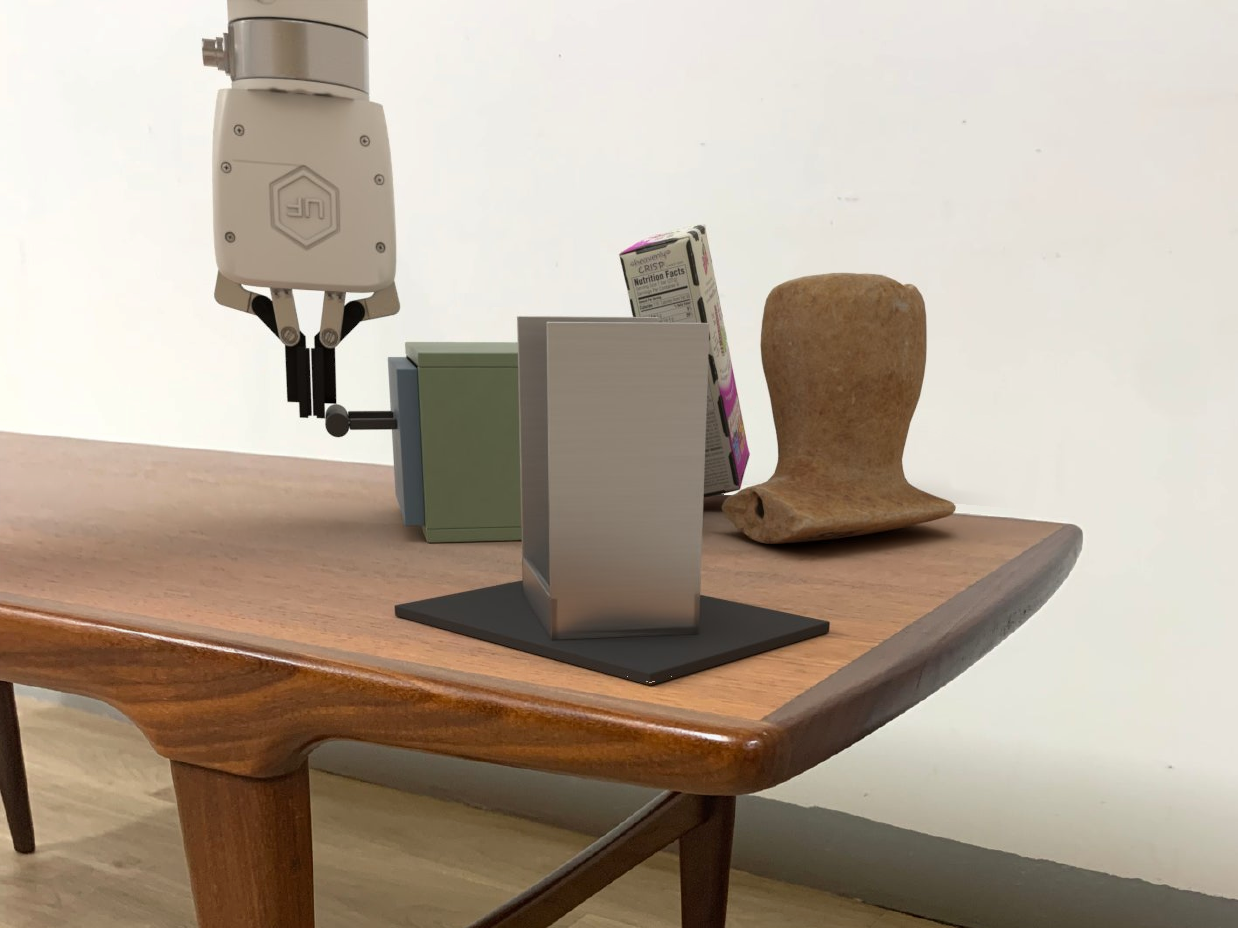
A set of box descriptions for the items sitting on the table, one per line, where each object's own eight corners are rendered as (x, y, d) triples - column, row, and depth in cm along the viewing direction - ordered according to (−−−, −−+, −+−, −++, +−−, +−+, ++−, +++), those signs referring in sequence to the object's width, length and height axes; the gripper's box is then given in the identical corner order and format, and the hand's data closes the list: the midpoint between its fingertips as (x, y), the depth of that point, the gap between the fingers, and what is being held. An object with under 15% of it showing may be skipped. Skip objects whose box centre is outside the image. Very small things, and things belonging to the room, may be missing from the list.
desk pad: (394, 615, 60) (393, 605, 60) (577, 578, 68) (577, 569, 68) (650, 686, 50) (650, 673, 50) (829, 632, 58) (830, 621, 58)
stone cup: (842, 510, 90) (860, 274, 84) (978, 535, 81) (1008, 275, 75) (671, 530, 82) (677, 271, 76) (802, 561, 73) (820, 270, 67)
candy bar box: (686, 471, 98) (639, 239, 91) (751, 457, 97) (708, 221, 90) (669, 506, 89) (615, 249, 81) (741, 492, 87) (692, 230, 80)
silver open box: (551, 640, 54) (547, 322, 49) (522, 593, 62) (516, 316, 57) (699, 634, 55) (709, 323, 51) (652, 589, 64) (657, 317, 59)
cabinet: (427, 543, 77) (417, 352, 73) (413, 506, 89) (404, 341, 85) (682, 536, 80) (687, 353, 76) (635, 502, 92) (637, 342, 88)
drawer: (332, 528, 76) (320, 368, 72) (332, 496, 87) (321, 356, 84) (643, 520, 80) (646, 368, 76) (605, 491, 91) (605, 357, 87)
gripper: (151, 46, 67) (178, 416, 74) (440, 74, 70) (440, 426, 77) (166, 69, 74) (190, 406, 81) (430, 94, 77) (431, 416, 84)
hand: (312, 415), depth 79 cm, fingers closed
